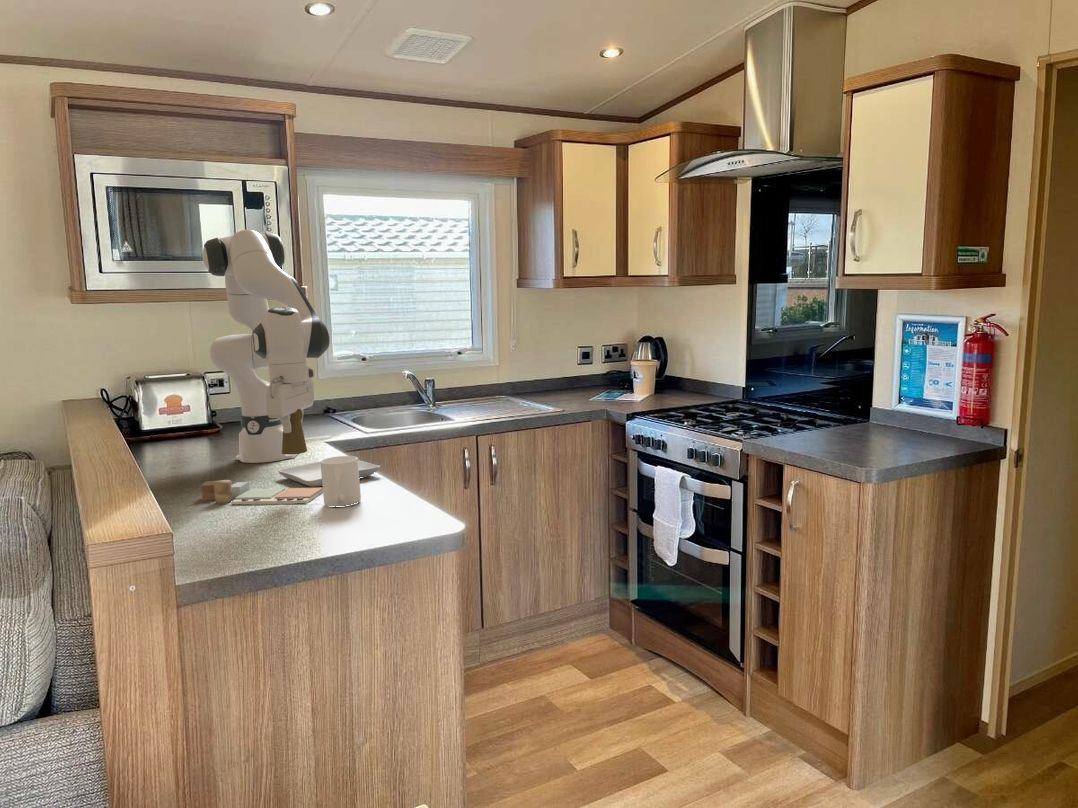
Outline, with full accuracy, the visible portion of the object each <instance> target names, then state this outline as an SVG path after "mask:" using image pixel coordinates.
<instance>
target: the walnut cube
mask: <svg viewBox="0 0 1078 808" xmlns="http://www.w3.org/2000/svg"><path fill="white" fill-rule="evenodd" d="M216 481H217V480H211V481H210V480H209V481H205V482H203V483H202V484H201V485H200V489H201V496H202V498H201V499H202V501H203V502H204V501H215V493H214V482H216Z"/></svg>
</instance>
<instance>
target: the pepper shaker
mask: <svg viewBox="0 0 1078 808" xmlns="http://www.w3.org/2000/svg"><path fill="white" fill-rule="evenodd" d="M302 417H303V418H304V415H303V413H302V411H301V409H298V410H297V411H296V412H295V413H292V414H290V423H291V425H293V431H292V432H290V433H284V431H283V441H282V454H287V455H291V454H298V455H300V454H304V453H307V452H308V447H307V443H306V439H305V434H304V431H303V430H304V429H303V427H302V425H303V423H302V424H301V419H302Z"/></svg>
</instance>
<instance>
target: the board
mask: <svg viewBox="0 0 1078 808" xmlns="http://www.w3.org/2000/svg"><path fill="white" fill-rule="evenodd" d="M322 492H323V487H289V488H286V487H279V488H276V487H275V488H274V487H273V488H251V489H250V488H249V491H247V492H245V493H243V494H241V495H239V496H238V497H236V498H234V499H233V501H232V502H230V504H231V505H232V504H251V505H297V503H307V504H308V503H310V502H311V501H313V500H314V499H315V497H316V496H317V497H318V495H319V494H320V495H321V493H322ZM322 494H323V493H322ZM320 495H319V496H320ZM317 497H316V498H317ZM313 498H314V499H313ZM312 499H313V500H312ZM309 501H310V502H309ZM295 503H296V504H295Z"/></svg>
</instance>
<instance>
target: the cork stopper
mask: <svg viewBox="0 0 1078 808" xmlns="http://www.w3.org/2000/svg"><path fill="white" fill-rule="evenodd" d="M215 481H216V482H214V493H215V500H214V502H215V504H216V505H224V504H223V503H226V504H229V503H228V502H230V503H231V501H233V500H234V498H232V486H231V485H232V480H229V479H222V480H215Z"/></svg>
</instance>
